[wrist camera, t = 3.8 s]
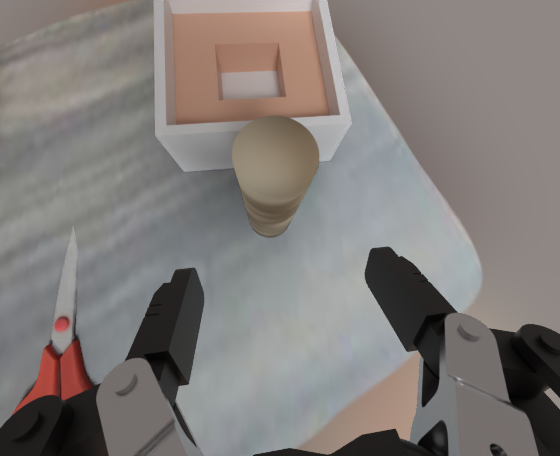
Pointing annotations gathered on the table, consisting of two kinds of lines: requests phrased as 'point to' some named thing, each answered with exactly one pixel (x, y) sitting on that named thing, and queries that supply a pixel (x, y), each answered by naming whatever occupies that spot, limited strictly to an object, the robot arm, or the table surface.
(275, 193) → the peg
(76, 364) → the scissors
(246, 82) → the box
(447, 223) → the table surface
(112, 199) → the table surface
